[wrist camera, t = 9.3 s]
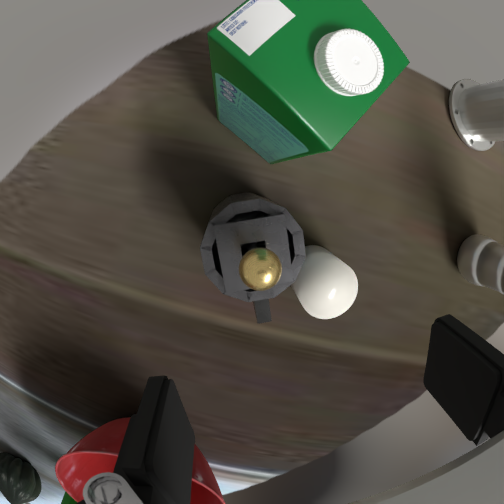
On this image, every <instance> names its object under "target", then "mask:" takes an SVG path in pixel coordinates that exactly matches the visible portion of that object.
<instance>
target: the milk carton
mask: <svg viewBox="0 0 504 504" xmlns="http://www.w3.org/2000/svg"><path fill="white" fill-rule="evenodd" d="M207 36H208V44H209V53H210V62H211V70H212V79H213V87H214V96H215V104H216V112H217V119H218V120H219V121H220V122H221V123H222V124H223V125H225V126H226V127H227V128H228V129H230V130H231V131H232V132H233V133H234V134H236V135H237V136H238V137H239V138H240V139H242V140H243V141H244V142H245V143H246V144H248V145H249V146H250V147H251V148H252V149H253V150H255V151H256V152H257V153H258V154H259V155H260V156H262V157H263V158H264V159H265V160H266V161H267V162H268V163H270V164H274V163H278V162H282V161H287V160H291V159H295V158H300V157H304V156H308V155H313V154H318V153H322V152H327V151H331V150H332V149H333V148H334V147H335V146H336V145H337V144H338V143H339V141H340V140H341V139H342V138H343V137H344V136H345V135H346V134H347V132H348V131H349V130H350V129H351V128H352V127H353V126H354V125H355V123H356V122H357V121H358V120H359V119H360V118H361V117H362V115H363V114H364V113H365V112H366V111H367V110H368V109H369V108H370V106H371V105H372V104H373V103H374V102H375V101H376V100H377V99H378V98H379V96H380V95H381V94H382V93H383V92H384V91H385V90H386V89H387V87H388V86H389V85H390V84H391V83H392V82H393V81H394V80H395V78H396V77H397V76H398V75H399V74H400V73H401V72H402V71H403V70H404V68H405V67H406V66H407V65H408V64H409V63H410V62H409V60H408V59H407V57H406V56H405V54H404V53H403V52H402V50H401V49H400V47H399V46H398V45H397V43H396V42H395V41H394V39H393V38H392V37H391V35H390V34H389V33H388V31H387V30H386V29H385V28H384V27H383V25H382V24H381V23H380V22H379V20H378V19H377V18H376V17H375V15H374V14H373V13H372V12H371V11H370V10H369V9H368V7H367V6H366V5H365V4H364V3H363V2H362V0H246V1H245V2H244V3H242V4H241V5H240V6H239V7H237V8H236V9H235V10H234V11H232V12H231V13H230V14H229V15H228V16H226V17H225V18H224V19H223V20H222V21H220V22H219V23H218V24H217V25H216V26H215V27H214V28H212V29H211V30H210V31H209V32H208V33H207Z"/></svg>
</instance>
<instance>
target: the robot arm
mask: <svg viewBox="0 0 504 504" xmlns="http://www.w3.org/2000/svg"><path fill="white" fill-rule="evenodd" d="M449 109H450V115H451V119H452V122H453V125H454V127H455V129H456V131H457V133H458V135H459V136H460V138H461V139H462V141H463V142H464V143H465V144H466V145H467V146H469V147H470V148H472V149H474V150H478V151H485V150H488V149H489V148H491V147H492V146H493V145H494V143H495V141H504V79H502V80H498V81H493V82H489V83H485V84H481V85H480V84H479V83H477V82H476V81H474V80H471V79H463V80H460V81H458V82H456V83H455V84H454V85H453V87H452V89H451V92H450V96H449ZM424 385H425V387H426V389H427V390H428V391H429V392H430V393H431V395H432V396H433V397H434V398H435V399H436V401H437V402H438V403H439V404H440V405H441V407H442V408H443V409H444V410H445V411H446V413H447V414H448V415H449V416H450V418H451V419H452V420H453V421H454V423H455V424H456V425H457V426H458V427H459V429H460V430H461V431H462V433H463V434H464V435H465V436H466V438H467V439H468V440H470V441H473V442H474V443H475V444H476V446H477V445H479V444H480V443H482V442H484V441H485V440H487V439H488V437H490V438H491V439H489V440H488V441H486V442H485V443H483V444H482V445H480V446H478V447H477V448H475V449H473V450H472V451H470V452H468V453H466V454H465V455H463V456H461V457H459V458H457V459H456V460H454V461H452V462H450V463H448V464H446V465H444V466H442V467H440V468H438V469H436V470H434V471H432V472H430V473H428V474H426V475H424V476H422V477H419V478H417V479H415V480H412V481H410V482H408V483H405V484H403V485H400V486H398V487H395V488H393V489H390V490H387V491H385V492H382V493H379V494H376V495H374V496H371V497H368V498H365V499H362V500H358V501H355V502H352V503H348V504H504V354H502V353H501V352H500V351H499V350H497V349H496V348H494V347H493V346H492V345H491V344H489V343H488V342H487V341H486V340H484V339H483V338H482V337H480V336H479V335H478V334H476V333H475V332H474V331H472V330H471V329H470V328H468V327H467V326H465V325H464V324H463V323H461V322H460V321H459V320H457V319H456V318H455V317H453V316H452V315H450V314H449V315H445V316H442V317H439V318H437V319H436V320H435V322H434V324H433V325H432V328H431V336H430V343H429V350H428V357H427V363H426V369H425V374H424ZM194 445H195V436H194V432H193V429H192V427H191V424H190V422H189V420H188V417H187V415H186V412H185V410H184V407H183V405H182V402H181V399H180V397H179V394H178V391H177V389H176V386H175V383H174V381H173V380H172V379H169V380H168V378H167V376H155V377H149V379H148V382H147V384H146V387H145V390H144V394H143V397H142V400H141V403H140V406H139V409H138V412H137V414H133V415H132V416H131V418H130V420H129V423H128V426H127V429H126V432H125V435H124V439H123V442H122V445H121V448H120V451H119V454H118V458H117V461H116V464H115V467H114V471H113V473H110V472H106V473H100V474H97V475H95V476H93V477H92V478H90V479H89V480H88V481H87V483H86V484H85V486H84V488H83V497H84V499H83V500H82V501H80V502H78V503H76V504H190V500H191V485H192V471H193V458H194Z"/></svg>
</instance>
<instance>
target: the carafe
mask: <svg viewBox="0 0 504 504" xmlns="http://www.w3.org/2000/svg"><path fill="white" fill-rule="evenodd" d="M251 211H259V212H261V213H262V214H263V215H264V216H262V217H256V218H250V219H244V220H238V221H232V222H227V221H228V220H229V219H231V218H232V217H233V216H234V215H236V214H239V213H245V212H251ZM259 241H265V248H266V249H269V250H271V251H273V252H274V253H275V254H276V255H277V256H278V258H279V259H280V262H281V265H282V273H281V277H280V279H279V281H278V282H277V283H276V285H274V286H273V287H272V288H270V289H268V290H264V291H257V290H253V289H251V288H249V287H247V286H246V285H245V284H244V283H243V281H242V280H241V278H240V275H239V264H240V261H241V259H242V252H241V246H240V245H241V244H247V243H253V242H259ZM200 251H201V256H202V261H203V266H204V270H205V274H206V276H207V277H208V278H209V279H210V280H211V281H212V282H213V283H214V284H215V286H216V287H217V288H218V289H219V290H220V291H221V292H222V293H223V294H225V295H228V296H231V297H234V298H237V299H240V300H243V301H246V302H252V301H253V305H254V309H255V314H256V318H257V322H258V323H264V322H269V321H272V320H271V314H270V307H269V300H268V299H269V298H274V297H276V296H277V295H278V294H280V293H281V292H282V291H283V290H285V289H286V288H287V287H288V286H290V285H291V284H292V283H294V282H295V281H296V278H297V276H298V274H299V272H300V269H301V267H302V265H303V262H304V260H305V258H306V254H305V245H304V236H303V230H302V229H301V227H300V226H299V225H298V223H297V222H296V221H295V220H294V218H293V217H292V216H291V214H290V213H289V212H288V211H287V209H286V208H284V207H282V206H280V205H278V204H277V203H275V202H273V201H271V200H269V199H267V198H264V197H261V196H259V195H256V194H254V193H251V192H247V193H239V194H235V195H229V196H228V197H227V198H226V199H224V200H223V201H222V202H221V203H219V204H218V205H217V206H216V207H215V208H214V209H213V212H212V215H211V217H210V220H209V223H208V226H207V228H206V231H205V234H204V237H203V240H202V243H201V246H200Z"/></svg>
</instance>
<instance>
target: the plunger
mask: <svg viewBox="0 0 504 504" xmlns="http://www.w3.org/2000/svg"><path fill="white" fill-rule="evenodd" d="M262 216H264V215H263V214H262V213H261V212H259V211H251V212H245V213H239V214H236V215H234V216H233V217H232V218H231V219H229V220H228V221H227V222H232V221H238V220H244V219H250V218H256V217H262ZM240 246H241V252H242V259H241V261H240V264H239V275H240V278H241V280H242V281H243V283H244V284H245V285H246V286H247V287H249V288H251V289H253V290H257V291H264V290H268V289H270V288H272V287H273V286H274V285H276V283H277V282H278V281H279V279H280V277H281V273H282V265H281V262H280V259H279V258H278V256H277V255H276V254H275V253H274V252H273V251H271V250H269V249H266V248H265V241H259V242H253V243H247V244H241V245H240Z"/></svg>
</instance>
